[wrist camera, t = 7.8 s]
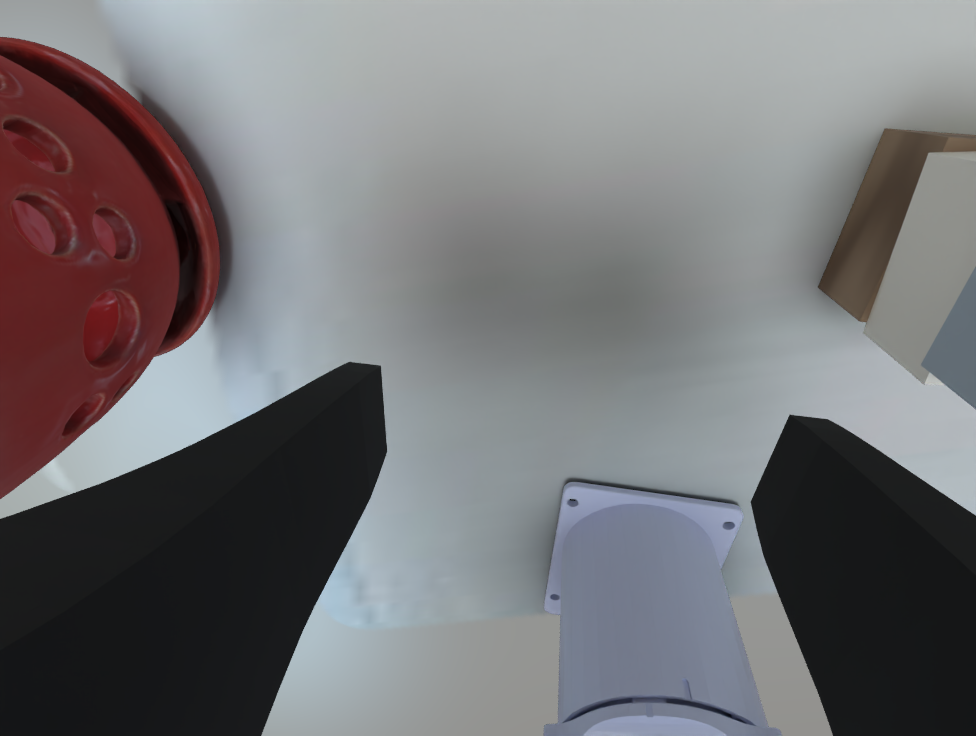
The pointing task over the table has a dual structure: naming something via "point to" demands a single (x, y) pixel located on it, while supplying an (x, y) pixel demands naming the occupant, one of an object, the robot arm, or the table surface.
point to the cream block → (928, 262)
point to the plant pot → (87, 251)
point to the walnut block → (881, 215)
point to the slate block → (957, 346)
